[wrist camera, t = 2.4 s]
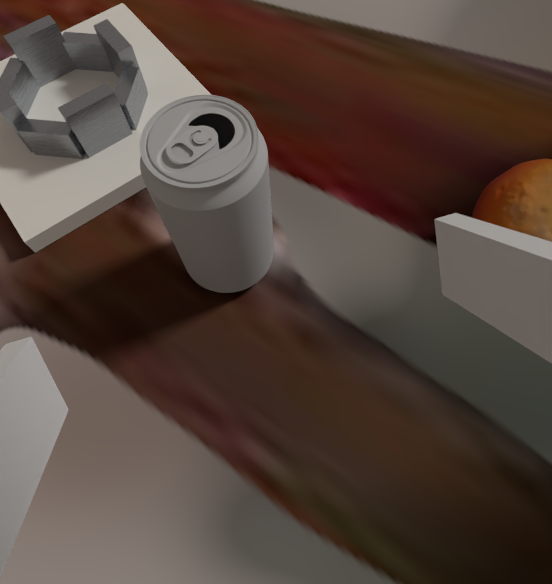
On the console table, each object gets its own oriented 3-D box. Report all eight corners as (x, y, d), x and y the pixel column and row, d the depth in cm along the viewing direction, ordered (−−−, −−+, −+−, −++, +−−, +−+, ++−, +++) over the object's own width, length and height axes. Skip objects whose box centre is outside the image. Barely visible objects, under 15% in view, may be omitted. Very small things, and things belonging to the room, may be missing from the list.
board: (127, 18, 42) (122, 2, 41) (236, 132, 36) (234, 119, 35) (-54, 107, 38) (-67, 93, 37) (35, 252, 32) (24, 242, 31)
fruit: (493, 157, 33) (601, 121, 25) (539, 247, 35) (653, 238, 27) (416, 216, 31) (506, 196, 24) (468, 307, 33) (568, 316, 25)
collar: (106, 43, 39) (87, -3, 35) (168, 113, 35) (154, 70, 32) (-6, 98, 37) (-39, 55, 33) (50, 179, 33) (20, 141, 29)
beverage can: (292, 254, 32) (295, 132, 21) (228, 315, 30) (194, 218, 19) (230, 203, 34) (202, 67, 23) (166, 259, 32) (103, 140, 21)
